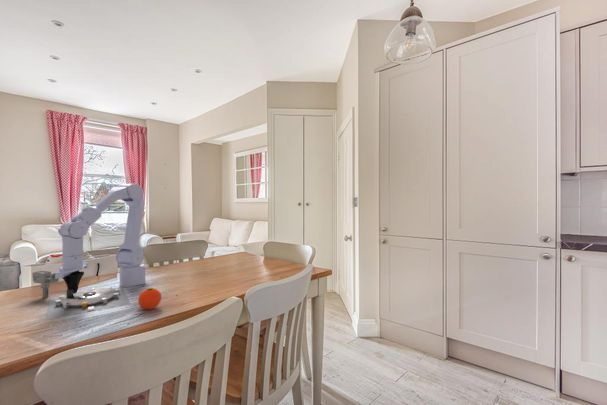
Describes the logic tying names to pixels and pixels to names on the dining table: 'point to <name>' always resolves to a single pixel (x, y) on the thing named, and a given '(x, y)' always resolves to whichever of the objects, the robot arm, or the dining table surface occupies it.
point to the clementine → (149, 298)
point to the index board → (60, 312)
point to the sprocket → (87, 297)
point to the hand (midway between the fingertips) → (72, 293)
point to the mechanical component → (44, 280)
